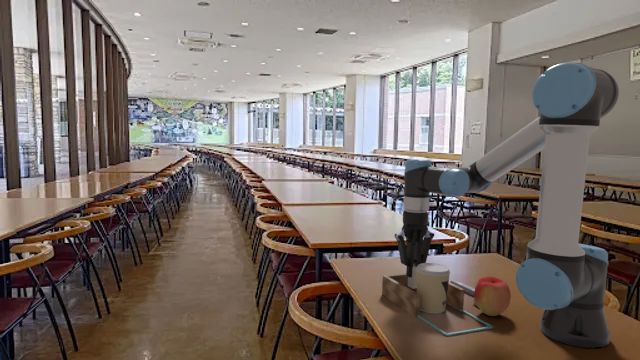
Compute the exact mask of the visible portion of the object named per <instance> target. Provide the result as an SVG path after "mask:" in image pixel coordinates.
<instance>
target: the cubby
mask: <svg viewBox="0 0 640 360" xmlns="http://www.w3.org/2000/svg"><path fill="white" fill-rule="evenodd" d="M450 282H451V281H449V284H448V292H447V299H446V305H449V306H450V307H453V308H454V309H456V310H458V311H460V309H463V310H464V302H465V292H464V289H462V288H460V287H458V286H456V285H454V284H452V283H450ZM381 284H382V286H381V287H382V288H381V295H382V296H383V297H384V298H387V299H388V300H389V301H391V302H392V303H394V304H395V305H397V306H398V307H400V308H401V309H402V310H404V311H405V312H407V313H409V314H410V315H411V316H413V317H414V318H418V317H417V315H420V310H419V307H420V295H419V294H417V288H415V289H412V288H411V287H409V286H408V277H407V275H406V272H405V273H394V274H385V275H382V282H381Z"/></svg>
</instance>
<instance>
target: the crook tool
mask: <svg viewBox="0 0 640 360" xmlns="http://www.w3.org/2000/svg"><path fill="white" fill-rule="evenodd" d="M449 282H450V283H452V284H454V285H456V286H458V287H460V288H462V289H464V294H465V293H466V294H468V295H470V296H472V297H474V292H475V287H472V286H470V285H468V284H465V283H462V282H460V281H458V280H455V279H451V280H450V281H449ZM473 305H474V306H476V307H477V308H479V307H478V305H477V304H476V301H475V298H474V300H473Z"/></svg>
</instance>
